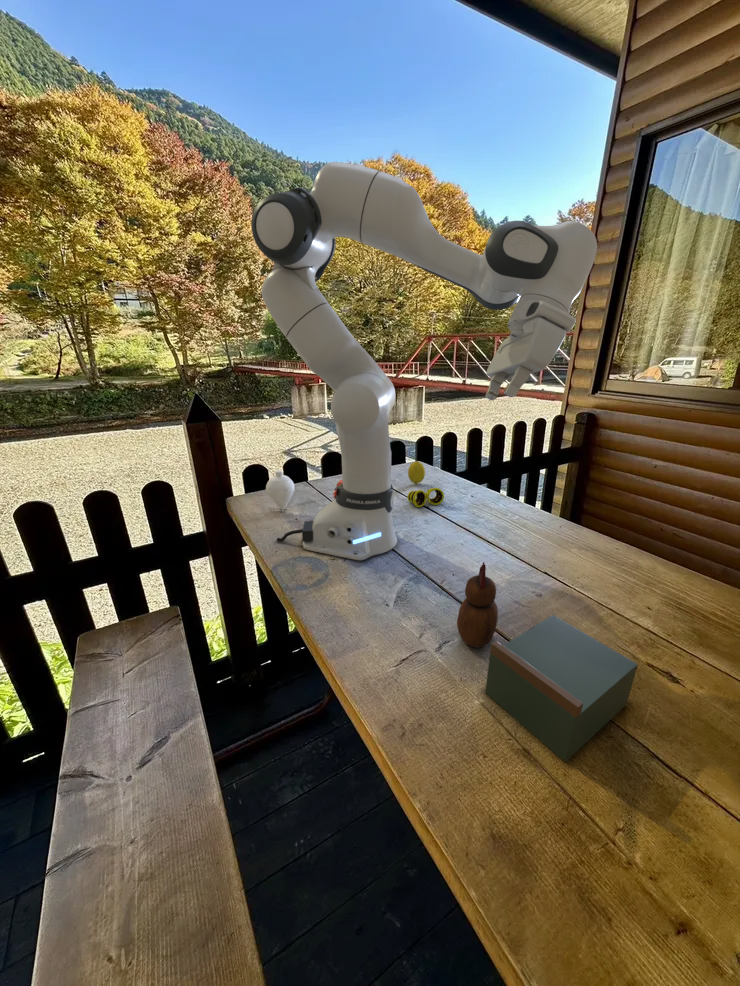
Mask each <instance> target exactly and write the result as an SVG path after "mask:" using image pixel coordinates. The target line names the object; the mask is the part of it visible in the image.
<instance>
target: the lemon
mask: <svg viewBox="0 0 740 986" xmlns="http://www.w3.org/2000/svg"><path fill="white" fill-rule="evenodd" d="M407 470H408V471H407V476H408V480H410V481H411V482H412V483H413V484H415V485H418V484H419V483H422V482H423V481H424V478H425V477H426V468H425V465H424V464H423V463H421V461H418V460H416V461H414V462H412V463H410V465H409V466H408V469H407Z"/></svg>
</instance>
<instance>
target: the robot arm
mask: <svg viewBox="0 0 740 986" xmlns="http://www.w3.org/2000/svg"><path fill="white" fill-rule="evenodd" d="M250 226H251V233H252V236H253V239H254V242H255V244H256V246H257V247H258V250H259V251H260V252H261V253H262V254H263V255H264V256H265V257H266V258H267V259H268V260H270V261H271V262H273V267H272V271H270V272H269V274H267V276H266V277H265V279H264V281H263V283H262V286H261V291H260V292H261V298H262V300H263V302H264V305H265V306H266V309H267V310H268V312H269V314H270V316H271V317H272V319H273V321H274V322H275V324H276V326H277V328H278V329H279V330H280V331H281V334H283V335H284V337H285V338H286V340H287V342H288V343H289V345H291V346H292V348H293V349H294V351H295V352H296V353H297V355H298V356H299V357H300V358H301V360H302V361H303V362H304V364H305V365H306V366H307V368H308V369H309V370H310V371H311V372H312V373H313V374H314V375H317V376H318V377H319V378H320V379H322V381H323V382H325V383H326V384H327V385H328V387H330V388H331V389H332V390H333V391H334V392H333V395H332V398H331V400H330V413H331V416H332V418H333V420H334V422H335V423H334V424H335V427H336V428H335V429H336V433H337V438H338V442H339V447H340V454H341V475H342V479H340V480H339V481H338V482H337V483H336V487H335V488H334V491H333V495H332V496H333V500H332V501H330V502H328V504H326V505H325V506H323V507H322V508H321V509H320V510H319V511H318V512H317V513H316V514H315V517H314V518H313V520H305V521H304V523H303V527H302V528H300V529H294V530H290V531H288V532H286V533H285V534H283V536H282V537H276V542H284V541H285V540H286V539H287V538H288V537H289V536H292V535H295V534H296V535H297V534H301V538H302V548H303V549H304V550H307V551H311V552H316V553H321V554H324V555H325V554H326V555H331V556H335V557H340V558H346V559H350V560H354V561H364V560H367V559H368V558H371V557H373V556H377V555H381V554H384V553H386V552H390V551H391V550H393V549H395V547H396V546H397V544H398V537H397V534H396V531H395V526H394V519H393V508H394V486H393V484H392V450H391V449H392V448H391V441H390V431H389V415H390V412H391V411H392V409H393V408H394V405H395V403H396V389H395V386H394V384H393V382H392V380H391V379H390V378H389V376H388V375H387V374H386V373H385V371H384V370H383V369H382V368H381V366H379V364H378V363H377V362H376V361H375V359H373V357H372V356H371V355H370V353H369V352H367V351H366V349H365V348H364V347H363V346H362V345H361V344H360V343H359V342H358V340H356V338H355V336H353V334H352V333H351V332H350V330H349V329H348V328H347V326H346V325H345V324H344V322H343V321H342V319H341V318H340V316H339V315H338V314H337V312H336V311H335V309H334V308H333V307H332V306H331V304H330V303H329V302H328V300H327V299H326V298H325V296H324V295H323V293H322V292H321V291H320V289H319V287H318V285H317V282H318V281H319V280H320V279H321V278H322V276H323V274H324V273H325V270H326V268H327V267H328V266H329V264H330V263H331V261H332V259H333V258H334V255H335V252H336V238H346V239H350V240H352V241H355V242H358V243H360V244H363V245H366V246H368V247H371V248H374V249H376V250H379V251H382V252H384V253H387V254H390V255H392V256H395V257H396V258H399V259H401V260H403V261H404V262H408V263H409V264H412V265H413V266H415V267H417V268H419V269H421V270H423V271H425V272H427V273H429V274H432V275H434V276H436V277H438V278H440V279H442V280H444V281H447V282H449V283H451V284H453V285H455V286H457V287H459V288H462V289H464V290H465V291H466V292H468V293H469V294H470V295H472V297H473V298H474V299H475V300H476V301H477V302H478V303H479V304H480V305H482V306H483V307H485V308H487V309H489V310H494V311H501V310H507V309H509V308H511V307H513V306H514V305H515V307H514V309H513V311H512V313H511V315H510V317H509V319H508V321H507V325H506V326H507V328H508V330H510V334H509V336H507V338H505V339H503V341H502V342H501V343H500V345H499V346H498V348H497V350H496V352H495V354H494V355H493V357H492V360H491V361H490V363H489V364H488V367H487V370H486V376H487V377H489V378H490V380H489V385H488V389H487V392H486V393H485V398H486V399H487V400H490V401H495V400H497V399H498V396H499V394H500V389H501V386H502V385H503V384H504V382H505V381H508V380H510V381H509V383H507V384H506V385H505V388H504V390H503V394H504V395H505V396H507V397H508V398H514V397H516V396H517V395H518V393H519V391H520V390H521V388H522V387H523V385H524V384H525V383H526V382H527V381H528V380H529V379H530V376H531V375H532V374H534V373H537V372H542V371H544V370H545V369H546V368H547V367H548V366H549V364H550V363H551V362H552V361H553V359H554V357H555V356H556V354H557V353H558V351H559V349H560V347H561V345H562V343H563V342H564V340H565V337H566V335H567V333H569V332H571V331H572V329H573V327H574V326H575V324H576V321H577V319H576V318H575V317H574V316H572V315H571V314H570V313H571V307H572V304H573V302H574V300H575V299H576V298H577V297H578V296H579V294H580V293H581V292H582V289H583V287H584V285H585V283H586V282H587V279H588V277H589V275H590V272H591V270H592V268H593V266H594V262H595V259H596V256H597V251H598V241H597V237H596V235H595V234H594V232H593V231H592V230H591V229H590V227H588V226H586V225H585V224H584V223H581V222H578V221H573V220H567V221H563V222H561V223H557V224H555V225H536V224H532V223H530V222H527V221H524V220H511V221H506V222H504V223H502V224H501V225H499V226H498V227H496V228H495V229H494V230H493V231H492V233H491V234H490V235H489V237H488V239H487V240H486V244H485V247H484V249H483V252H482V254H479V253H476V252H475V251H473V250H470V249H468V248H466V247H463V246H461V245H459V244H457V243H455V242H453V241H451V240H449V239H447V238H445V237H444V236H443V235H441V234H440V233H439V232H438V231H437V229H436V228H435V227H434V225H433V223H432V222H431V220H430V218H429V216H428V214H427V211H426V209H425V205H424V204H423V201H422V198H421V196H420V194H419V193H418V191H417V190H416V189H415V188H414V186H412V185H410V184H409V183H407V182H406V181H404V180H403V179H401V178H399V177H397V176H395V175H393V174H390V173H387V172H384V171H381V170H379V169H375V168H371V167H368V166H364V165H360V164H355V163H349V162H340V161H332V162H331V161H330V162H328V163H326V164H324V165H323V166H322V167H320V169H319V171H318V172H317V174H316V177H315V178H314V181H313V185H312V188H311V190H310V191H308V190H307V189H305V188H304V187H302V186H300V187H298V186H297V187H296V188H292V189H290V190H287V191H282V192H275V193H271V194H269V195H267V196H265V197H263V198H262V199H261V200H260V201H258V203H257V204H256V205H255V208H254V210H253V212H252V216H251V225H250Z"/></svg>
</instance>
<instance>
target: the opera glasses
mask: <svg viewBox="0 0 740 986" xmlns="http://www.w3.org/2000/svg"><path fill="white" fill-rule="evenodd" d="M432 492H435V496H434V497H433V498H431V497H430V494H431V493H432ZM444 499H445V492H444V491H443V490H442V489H440V488H438V487H432V488H429V489H427V490H426V491H424V490H423V489H418V490H411V491H409V492H408V494H407V501H408V502H409V503H412V504H413V505H414V506H415V507H417V508H421V507H423V506H424V505H426V502H427V501H428V503H429V504H431V505H434V506H438V505H440V504H442V503H443V502H444Z"/></svg>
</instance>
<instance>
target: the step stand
mask: <svg viewBox="0 0 740 986" xmlns="http://www.w3.org/2000/svg"><path fill="white" fill-rule="evenodd" d="M489 652H490V653H489V659H488V666H487V667H488V669H487V676H486V683H485V694H486V695H487V696H489V698H490V699H492V700H493V701H494V702H495V703H496V704H497V705H499V706H500V707H501V708H502V709H504V710H505V711H506V712H507V713H508V714H509V715H510V716H511V717H513V719H515V720H516V721H517V722H518V723H519V724H520V725H521V726H522V727H524V728H525V729H526V730H527V731H529V732H530V733H531V734H532V735H533V736H534V737H536V738H537V739H538V740H539V741H540V742H541V743H542V744H544V746H546V747H547V748H548V749H550V750H551V752H553V753H554V754H555V755H556V756H558V758H559V759H561V760H562V761H563V762H565V763H567V761H568V760H569V759H571V758H572V756H574V755H575V754H576V753H577V752H578V751H579V750H581V748H582V747H584V745H586V743H587V742H589V741H590V740H591V739H592V738H593V737H594V736H595V735H596V734H597V733H598V732H599V731H601V729H603V727H604V726H606V725H607V724H608V723H609V722H610V721H611V720H612V719H613V718H614V717H615V716H616V715H617V714H618V713H620V711H622V710H623V709H624V708H625V707H626V706H627V704H628V699H629V697H630V693H631V690H632V687H633V683H634V680H635V676H636V673H637V670H638V666H639V664H638V663H636V662H635V661H633V660H631V659H630V658H628V657H626V656H624V655H623V654H622V653H620V652H618V651H616V650H615V649H612V648H611V647H609V646H608V645H607V644H606V645H605V644H604V643H603V642H601V641H599V640H597V639H595V638H594V637H592V636H590V635H588V634H587V633H586V632H583V631H582V630H580V629H578V628H577V627H575V626H573V625H571V624H570V623H568V622H566V621H564V620H563V619H561V618H560V617H558V616H556V615H554V614H552V615H550V616H548V617H547V618H545V619H544V620H542V621H540V622H539V623H537V624H536V625H534V626H532V627H531V628H529V629H527V630H525V631H524V632H523V633H521V634H518V635H517V636H516V637H514V638H512V639H511V640H509V641H508V642H506V643H504V644H502V643H500V642H499V641H498V640H494V641H493V642H491V643H490V651H489Z"/></svg>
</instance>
